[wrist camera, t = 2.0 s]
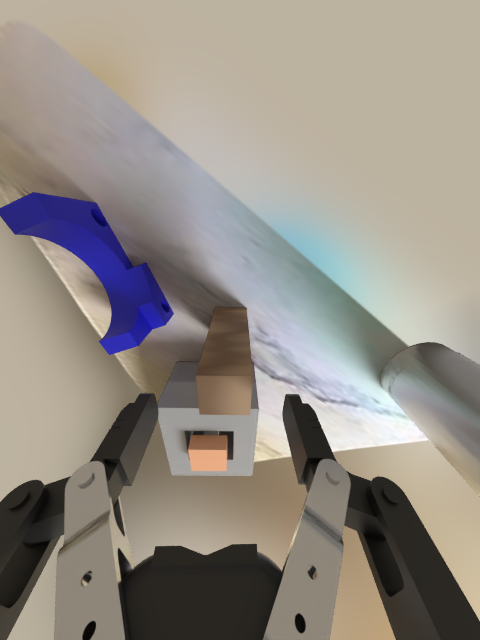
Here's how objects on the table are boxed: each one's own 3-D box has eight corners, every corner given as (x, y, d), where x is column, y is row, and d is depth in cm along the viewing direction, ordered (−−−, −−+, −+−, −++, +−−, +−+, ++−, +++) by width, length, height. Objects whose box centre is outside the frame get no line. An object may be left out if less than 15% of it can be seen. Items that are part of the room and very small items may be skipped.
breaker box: (253, 363, 25) (258, 408, 19) (249, 423, 30) (252, 475, 24) (176, 361, 25) (155, 407, 19) (185, 423, 30) (171, 475, 24)
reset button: (228, 420, 22) (226, 450, 19) (228, 440, 24) (226, 471, 21) (194, 419, 22) (188, 449, 19) (197, 440, 24) (191, 470, 21)
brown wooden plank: (246, 307, 22) (252, 376, 12) (245, 334, 23) (250, 415, 13) (215, 307, 22) (195, 375, 12) (216, 334, 23) (199, 414, 13)
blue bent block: (174, 313, 22) (153, 341, 17) (140, 324, 23) (109, 354, 17) (111, 196, 17) (52, 182, 12) (69, 215, 18) (-5, 210, 12)
